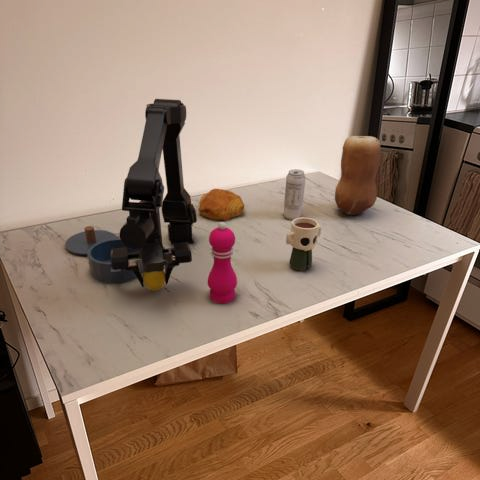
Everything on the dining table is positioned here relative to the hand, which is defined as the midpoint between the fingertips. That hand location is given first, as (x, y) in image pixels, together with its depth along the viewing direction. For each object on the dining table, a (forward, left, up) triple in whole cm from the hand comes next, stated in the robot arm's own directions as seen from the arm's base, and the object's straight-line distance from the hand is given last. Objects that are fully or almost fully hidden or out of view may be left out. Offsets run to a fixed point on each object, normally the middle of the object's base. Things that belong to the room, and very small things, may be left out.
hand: (154, 285), depth 114 cm
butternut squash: (-69, -34, -2) cm, 77 cm away
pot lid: (+16, -28, -1) cm, 32 cm away
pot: (+9, -12, -2) cm, 15 cm away
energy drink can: (-48, -35, -2) cm, 59 cm away
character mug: (-40, -4, -2) cm, 40 cm away
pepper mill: (-16, +6, -2) cm, 17 cm away
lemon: (0, 0, -2) cm, 2 cm away
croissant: (-25, -43, -2) cm, 50 cm away
